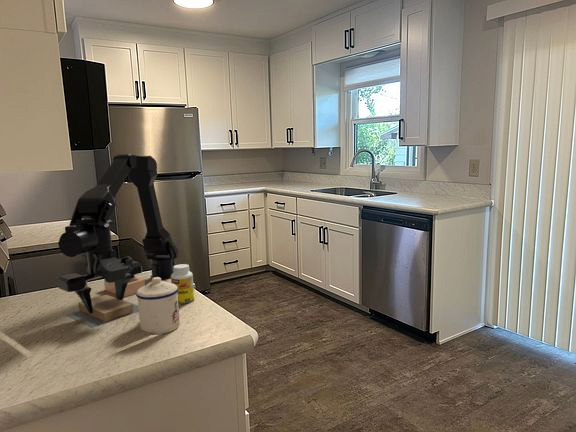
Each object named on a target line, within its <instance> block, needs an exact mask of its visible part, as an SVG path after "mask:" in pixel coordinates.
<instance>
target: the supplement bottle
mask: <svg viewBox="0 0 576 432" xmlns="http://www.w3.org/2000/svg"><path fill="white" fill-rule="evenodd" d="M173 271H174V273H173V274H172V275H171V278H170V283H172V284H175V285H176V286H177V287H178V292H177V293H178V306H179V305H187V304H191V303H193V302H194V301H195V289H194V287H195V286H194V275H193V272H192V271H190V265H189V264H186V263H183V264H181V263H180V264H175V266H174V267H173Z"/></svg>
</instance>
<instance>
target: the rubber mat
mask: <svg viewBox="0 0 576 432" xmlns="http://www.w3.org/2000/svg"><path fill="white" fill-rule="evenodd" d="M123 301H125V302H128V303H131V302H129V301H126V300H124V299H123ZM131 304H133V312H132V313H129V314H126V315H123V316H120V317H117V318H115V319H112V320H109V321H106V322H105V321H103V320H100V319H98V318H96V317H94V316H91V315H89V314H87V313H85V312H82V311H80V310H79V309H78V310H75V311H71V312H69V313H64V315H65V316H66V317H68V318H70V319H72V320H74V321H76V322H79V323H80V324H82V325H84V326H87V327H89V328H91V329H93V328H95V327H99V326H102V325H104V324H108V323H111V322H113V321H116V320H119V319H122V318H125V317H129V316H131V315H134V314H137V313H139V308H138V304H134V303H131Z"/></svg>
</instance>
